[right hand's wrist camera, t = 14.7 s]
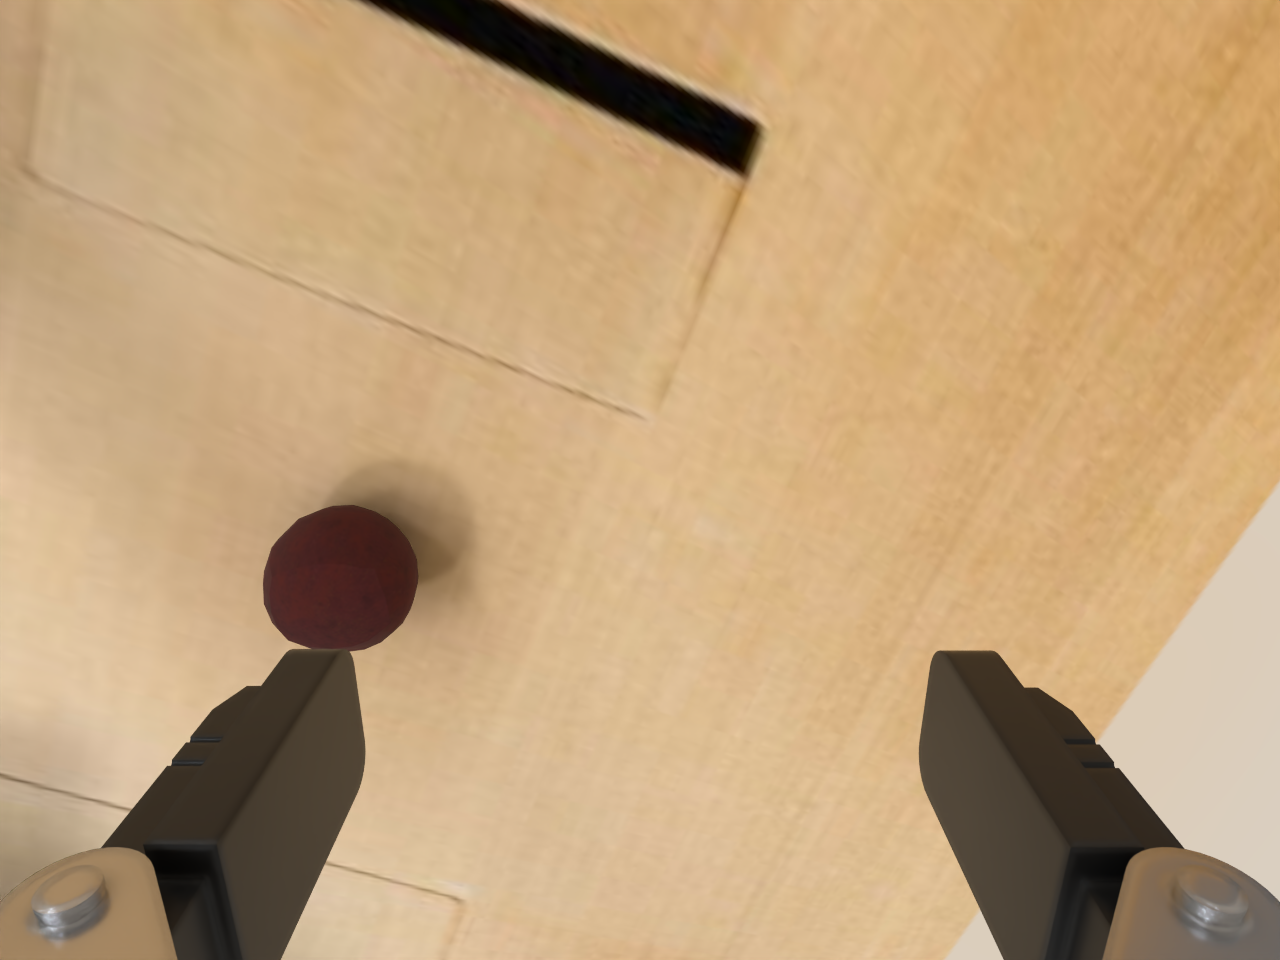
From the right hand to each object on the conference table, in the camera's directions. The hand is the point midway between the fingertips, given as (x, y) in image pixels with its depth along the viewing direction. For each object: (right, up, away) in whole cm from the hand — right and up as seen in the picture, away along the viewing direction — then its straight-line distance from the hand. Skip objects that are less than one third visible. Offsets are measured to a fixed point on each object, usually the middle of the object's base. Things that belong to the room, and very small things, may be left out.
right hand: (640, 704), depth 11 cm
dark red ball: (-15, -1, +34) cm, 38 cm away
